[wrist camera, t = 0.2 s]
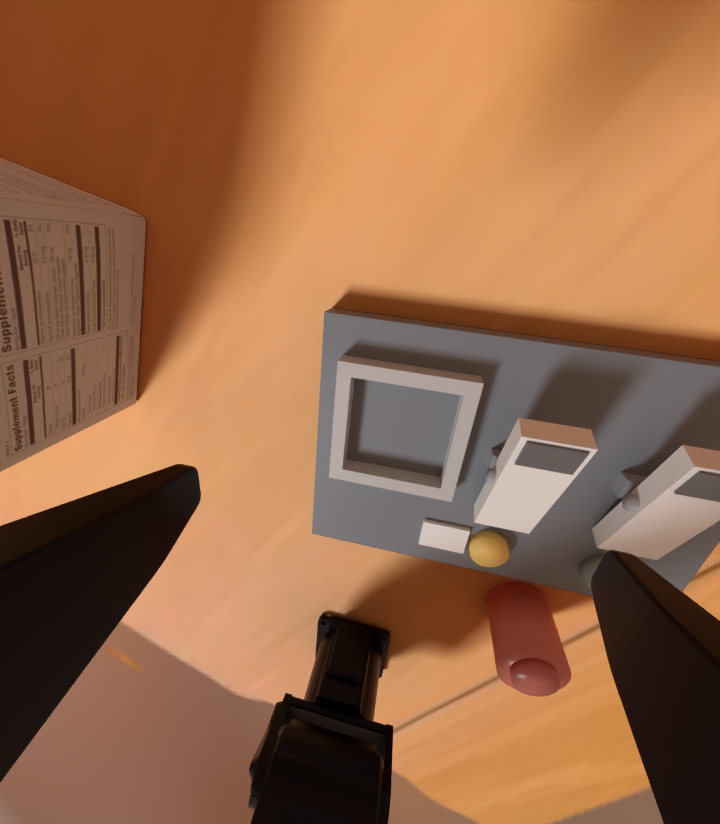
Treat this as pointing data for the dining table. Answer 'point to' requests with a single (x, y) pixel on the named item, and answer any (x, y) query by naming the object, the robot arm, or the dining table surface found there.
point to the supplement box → (64, 310)
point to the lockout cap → (526, 640)
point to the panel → (495, 440)
